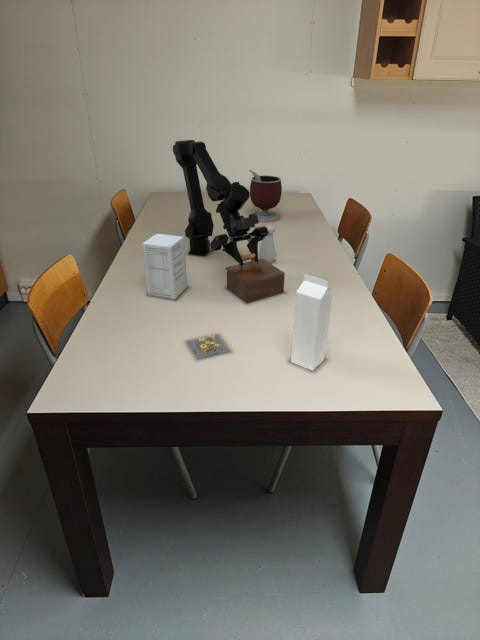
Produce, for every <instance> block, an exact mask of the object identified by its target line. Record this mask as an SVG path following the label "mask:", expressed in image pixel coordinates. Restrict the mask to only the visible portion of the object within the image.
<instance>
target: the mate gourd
mask: <svg viewBox="0 0 480 640" xmlns="http://www.w3.org/2000/svg"><path fill="white" fill-rule="evenodd" d="M248 172H249V173H251V174H252V177H251V180H250V186H249V194H250V196H249V199H250V202H251V203H252V204H253V206H254V207H256V208H257V209H259V210H261V211H258V212H257V211H256V212H255V213H256V215H257V217H258V220H259V222H263V223H264V222H265V223H267V222H269V223H270V222H275V221H277V220H278V219H279V215H278V214H277V213H275V212H271V211H269V210H271V209H274V208H276V207H277V206H278V205H279V203H280V202H281V198H282V194H283V193H282V191H283V190H282V189H283V187H282V184H283V183H282V178H281V177H280V176H276V175H268V174H267V175H266V174H265V175H264V174H263V175H259V174H258V173H257V172H255V170H253V169H249V170H248Z"/></svg>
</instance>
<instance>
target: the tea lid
mask: <svg viewBox="0 0 480 640" xmlns="http://www.w3.org/2000/svg"><path fill="white" fill-rule="evenodd" d="M255 257H256V256H255V254H254V253H252V254H251V253H249V254H244V255H241V258H242V260H243V265H242V266H241V265H240V264H239V263H237V264H233V265H229V266H225V267H224V270H226V272H227V271H228V272H230V273H231V274H233V275H234V276H235V277H237V278H238V279H240V280H241V281H242V282H244V283H245V284H247V285H248V284H252V283H256V282H259V281H263V280H267V279H271V278H274V277H278V276H282V275H286V272H284V271H283V270H281V269H280V268H278V267H277V266H275V265H273V264H272V263H268V262H266V261H265V260H263V259H260V258H258V261H257V262H255V260H254V258H255ZM244 261H246V262H244Z"/></svg>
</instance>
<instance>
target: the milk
mask: <svg viewBox="0 0 480 640" xmlns="http://www.w3.org/2000/svg"><path fill="white" fill-rule="evenodd" d="M333 294H334V289H332V288H331V287H329V280H326V279H323V278H319V277H317V276H312V275H310V274H306V273H305V274H304V275H303V281H302V282H301V284H300V285H299V287H298V289H297V290H296V293H295V306H294V318H293V331H292V343H291V355H290V362H291V363H293V364H295V365H298V366H299V367H302V368H304V369H307V370H309V371H312V372H313V371H314V370H315V369H316V368H317V367H318V366H319V365H321V363H322V362H323V361H324V360H325V358H326V350H327V342H328V335H329V334H328V333H329V327H330V317H331V309H332V301H333Z"/></svg>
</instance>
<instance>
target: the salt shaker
mask: <svg viewBox="0 0 480 640" xmlns="http://www.w3.org/2000/svg"><path fill="white" fill-rule="evenodd" d="M264 226H265V227H267V229H268V231H269V234H268V235H267V236H266V237H265V238H264V239H263V240H262V241H261V245H260V249H259V253H258V257H259V259H263V260H265V261H266V262H268V263H270V264H272V263H274V262H275V259H276V257H277V254H276V246H275V240H274V234H275V232H276V227H275V226H274V225H272V224H266V225H264Z"/></svg>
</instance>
